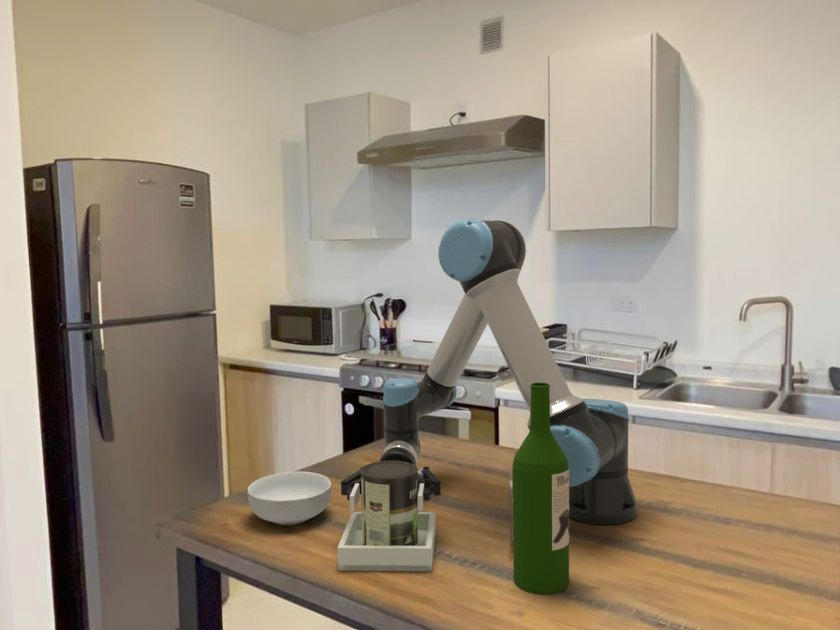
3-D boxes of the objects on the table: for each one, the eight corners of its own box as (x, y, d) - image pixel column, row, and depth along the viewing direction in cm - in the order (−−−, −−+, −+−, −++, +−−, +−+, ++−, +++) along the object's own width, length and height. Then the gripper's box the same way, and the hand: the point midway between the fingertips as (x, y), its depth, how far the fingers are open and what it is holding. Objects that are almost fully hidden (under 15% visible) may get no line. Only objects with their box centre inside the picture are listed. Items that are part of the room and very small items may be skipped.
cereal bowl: (231, 528, 135) (230, 494, 134) (277, 499, 150) (275, 468, 150) (307, 539, 129) (305, 503, 128) (346, 507, 144) (345, 475, 144)
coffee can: (419, 532, 128) (418, 459, 127) (417, 557, 118) (417, 478, 117) (364, 532, 128) (363, 459, 127) (358, 557, 118) (357, 478, 117)
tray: (435, 532, 131) (435, 512, 130) (431, 571, 115) (431, 548, 114) (353, 531, 132) (352, 511, 131) (338, 570, 116) (337, 547, 115)
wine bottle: (556, 600, 104) (556, 392, 101) (504, 585, 109) (502, 386, 106) (577, 576, 112) (577, 381, 109) (527, 563, 117) (525, 377, 114)
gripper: (455, 482, 140) (454, 524, 118) (341, 482, 141) (319, 524, 120) (454, 446, 139) (453, 482, 117) (340, 446, 141) (318, 482, 119)
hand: (385, 503), depth 118 cm, fingers open, 11 cm apart
